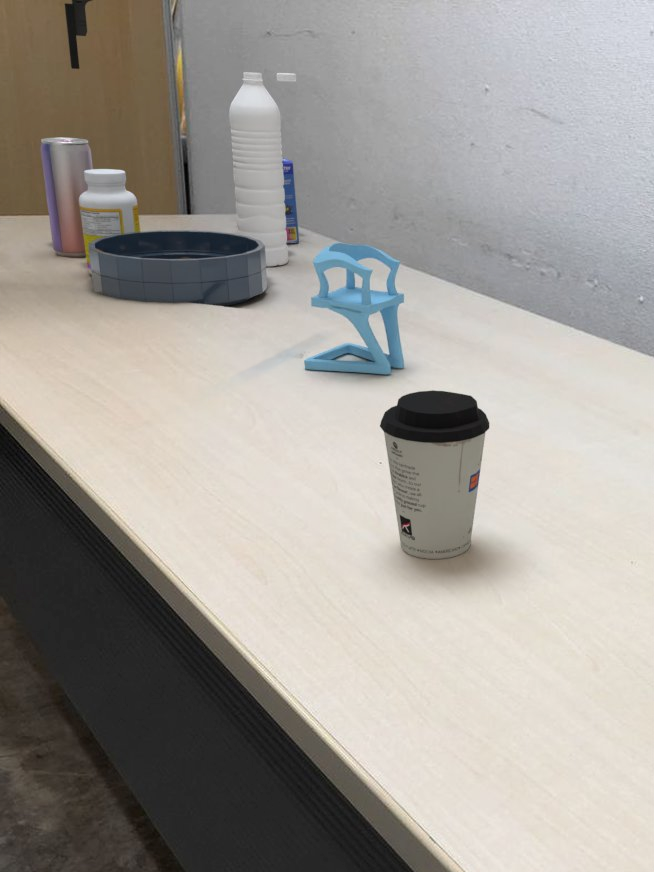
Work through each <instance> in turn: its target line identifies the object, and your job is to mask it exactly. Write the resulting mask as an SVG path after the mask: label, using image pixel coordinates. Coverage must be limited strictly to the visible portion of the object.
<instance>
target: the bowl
mask: <svg viewBox="0 0 654 872" xmlns="http://www.w3.org/2000/svg"><path fill="white" fill-rule="evenodd" d="M88 247H89V257H90V265H91V274H92V275H91V274H90V275H91V282H92V290H93V291H92V292H94V293H100V294H101V295H103V296H107V297H110V298H116V299H119V300H125V301H126V300H128V301H136V302H144V303H145V302H146V303H173V304H176V303H178V304H179V303H191V304H198V305H207V306H217V307H227V306H233V305H238V304H241V303H244V302H248V301H249V300H251V299H252V298H254V297H256V296H259V295H261V294H263V293H265V291H266V290H267V289H268V275H267V274H268V273H267V266H266V255H265V245H264V244H263V242H262V241H260V240H257V239H255V238H252V237H249V236H243V235H238V234H237V233H232V232H223V231H212V230H192V229H190V230H189V229H188V230H187V229H168V230H167V229H165V230H160V229H158V230H145V231H140V232H130V233H123V234H115V235H110V236H106V237H102V238H98V239H96V240H94V241H92V242H90V243H89V244H88ZM181 257H190V258H192V259H179V258H181Z"/></svg>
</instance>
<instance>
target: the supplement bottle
mask: <svg viewBox="0 0 654 872" xmlns="http://www.w3.org/2000/svg"><path fill="white" fill-rule="evenodd" d="M84 177H85V181H86V183H87V184H88V190H87V191H85V192H84V193H82V194H81V195H80V197H79V206H80V213H81V221H82V228H83V236H84V244H85V252H86V257H85V259H86V267H87V271H88V274H89V275H91V276H92V274H91V265H90V257H89V247H88V244H89V243H90V242H92V241H94V240H96V239H98V238H102V237H106V236H110V235H115V234H123V233H130V232H141V225H140V214H139V206H138V199H137V197H136V196H135V194H134V193H133V192H131V191H130V190H127V188H126V183H127V174H126V171H125V170H123V169H115V168H113V169H112V168H93V169H91V170H85V171H84Z"/></svg>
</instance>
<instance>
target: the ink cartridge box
mask: <svg viewBox="0 0 654 872" xmlns="http://www.w3.org/2000/svg"><path fill="white" fill-rule="evenodd" d="M282 158H283V161H282V163H283V167H282V169H283V175H284V185H283V188H284V192H285V200H284V203H285V216H286V228H285V229H286V232H287V243H286V245H287V244H298V243H299V242H300V232H299V231H300V230H299V219H298V208H297V194H296V183H295V170H294V162H293V160H291V159H287V158H284V157H282Z"/></svg>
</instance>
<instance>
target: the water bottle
mask: <svg viewBox="0 0 654 872" xmlns="http://www.w3.org/2000/svg"><path fill="white" fill-rule="evenodd" d="M242 74H243V75H242V77H243V78H241V81H242V85H241V87H240V88H239V90H238V91H237V93H236V95H235V96H234V98H233V99H232V100H231V103H230V105H229V110H228V120H229V126H230V135H231V137H230V140H231V148H232V149H231V154H232V166H233V168H232V172H233V175H232V176H233V184H234V188H233V189H234V191H233V192H234V199H235V212H236V227H237V232H236V234H238V235H243V236H249V237H252V238H255V239H257V240H260V241H262V242H263V244H264V245H265V255H266V268H268V267H277V266H284V265H286V264H287V263H289V248H288V247H289V246H288V245H287V244H286V243H287V232H286V229H285V228H286V216H285V203H284V200H285V192H284V188H283V185H284V175H283V169H282V167H283V163H282V161H283V158H284V157H283V145H282V142H283V139H282V137H281V136H282V131H281V130H282V118H281V117H282V116H281V112H280V108H279V106H278V104H277V103H276V101H275V100H274V98H273V97H272V96H271V94H270V93H269V91H268V90H267V88H266V87H265V85H264V79H263V74H262V72H249V71H244V72H243V73H242ZM276 81H278V82H289V83H290V82H291V83H292V82H293V83H294V82H295V83H296V82H297V74H296V73H292V72H291V73H289V72H277V73H276Z"/></svg>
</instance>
